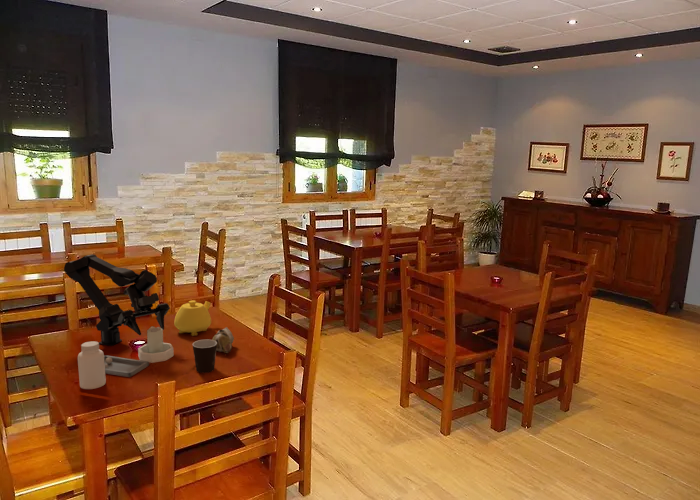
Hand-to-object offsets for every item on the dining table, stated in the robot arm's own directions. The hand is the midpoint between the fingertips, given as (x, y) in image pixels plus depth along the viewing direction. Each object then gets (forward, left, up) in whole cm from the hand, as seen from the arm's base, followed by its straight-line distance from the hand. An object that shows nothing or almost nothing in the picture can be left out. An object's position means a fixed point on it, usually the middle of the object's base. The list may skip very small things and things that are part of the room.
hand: (152, 332), depth 206 cm
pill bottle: (-3, -29, -10) cm, 31 cm away
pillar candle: (+2, -1, -9) cm, 9 cm away
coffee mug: (+25, -3, -10) cm, 27 cm away
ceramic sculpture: (+21, +15, -10) cm, 28 cm away
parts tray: (-5, -15, -10) cm, 18 cm away
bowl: (+2, -1, -10) cm, 10 cm away
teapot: (-1, +33, -10) cm, 35 cm away
